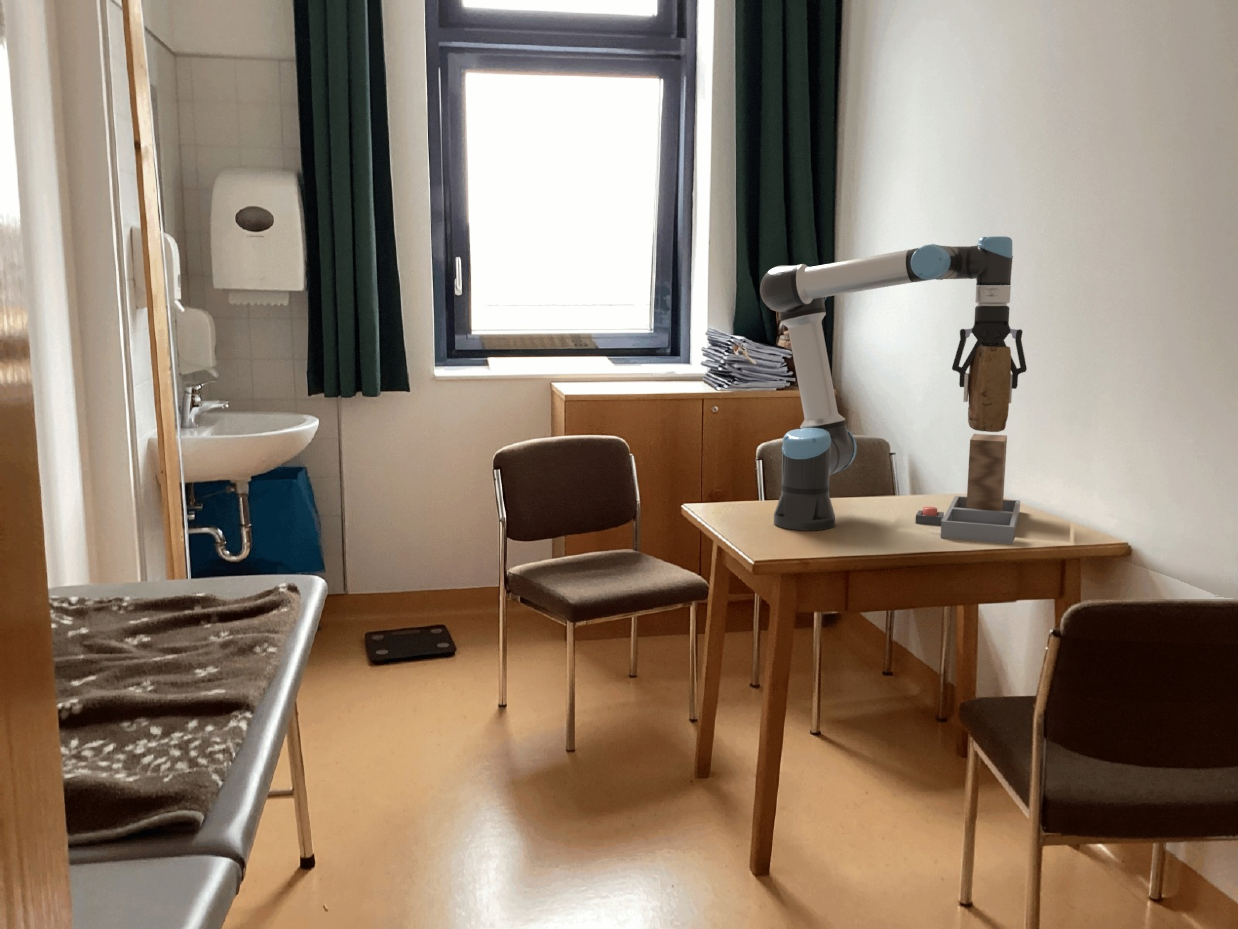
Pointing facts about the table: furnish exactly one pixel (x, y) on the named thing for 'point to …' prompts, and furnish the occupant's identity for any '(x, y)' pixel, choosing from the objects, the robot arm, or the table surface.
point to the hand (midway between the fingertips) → (987, 401)
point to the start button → (930, 511)
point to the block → (989, 388)
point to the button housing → (929, 518)
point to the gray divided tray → (980, 522)
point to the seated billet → (986, 472)
